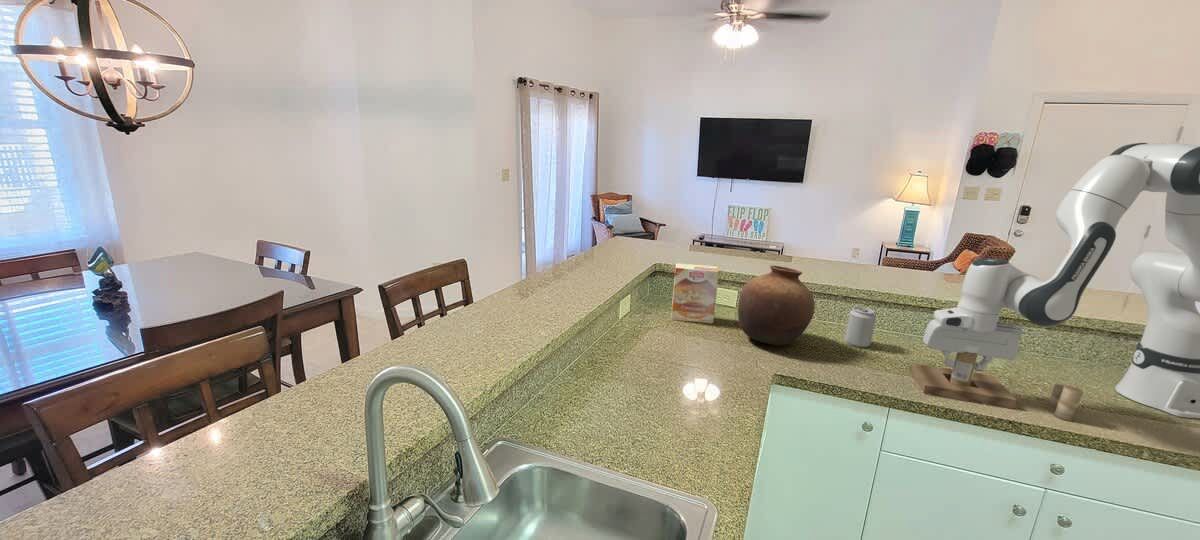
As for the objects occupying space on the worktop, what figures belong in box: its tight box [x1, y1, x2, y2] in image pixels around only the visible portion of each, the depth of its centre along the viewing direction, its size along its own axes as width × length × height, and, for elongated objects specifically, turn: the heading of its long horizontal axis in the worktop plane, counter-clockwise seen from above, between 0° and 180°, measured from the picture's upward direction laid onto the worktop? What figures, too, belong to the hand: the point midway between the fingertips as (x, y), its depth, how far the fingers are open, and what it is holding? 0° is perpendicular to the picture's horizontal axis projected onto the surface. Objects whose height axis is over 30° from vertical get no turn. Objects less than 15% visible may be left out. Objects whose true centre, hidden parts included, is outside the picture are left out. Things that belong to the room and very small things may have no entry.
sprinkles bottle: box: [950, 345, 979, 386], centre depth 128 cm, size 5×5×13 cm
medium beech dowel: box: [1054, 385, 1084, 422], centre depth 117 cm, size 3×3×8 cm
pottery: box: [737, 264, 816, 346], centre depth 154 cm, size 23×23×25 cm
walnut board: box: [908, 362, 1018, 410], centre depth 130 cm, size 20×14×2 cm
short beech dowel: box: [1048, 383, 1065, 408], centre depth 123 cm, size 3×3×5 cm
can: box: [844, 306, 877, 349], centre depth 156 cm, size 8×8×12 cm
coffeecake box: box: [670, 262, 720, 324], centre depth 172 cm, size 15×7×20 cm, turn 81°
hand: (963, 367), depth 129 cm, fingers open, 5 cm apart
